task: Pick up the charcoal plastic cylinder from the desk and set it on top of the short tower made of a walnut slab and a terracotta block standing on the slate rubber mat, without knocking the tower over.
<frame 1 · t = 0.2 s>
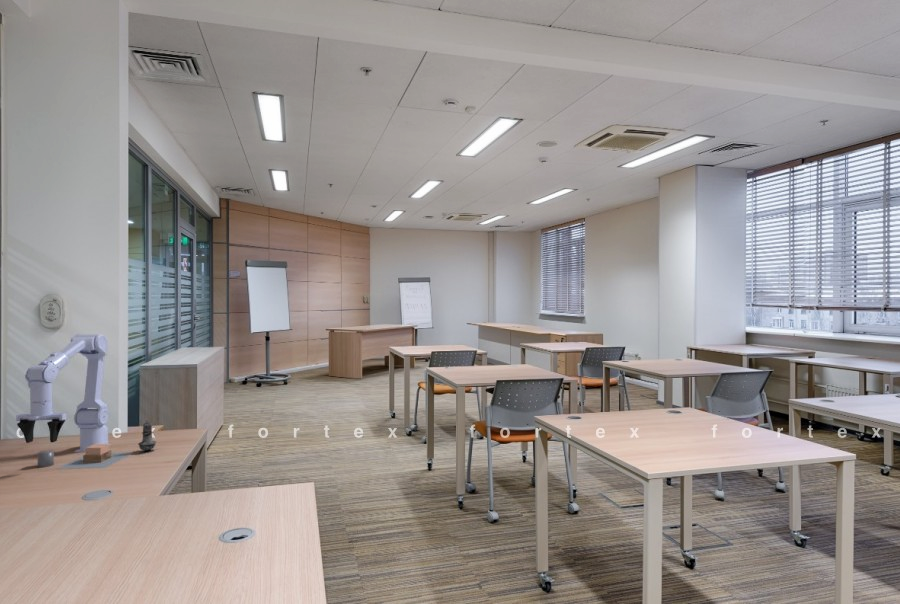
hand: (41, 441, 172), 10 cm above the table, fingers open, 7 cm apart
tower middle: (97, 452, 183), point 3 cm above the table, touching tower base
salt shaker: (147, 452, 194), on the table
tower base: (97, 460, 183), resting on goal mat, touching tower middle
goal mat: (97, 461, 183), on the table
cylinder: (45, 466, 177), on the table
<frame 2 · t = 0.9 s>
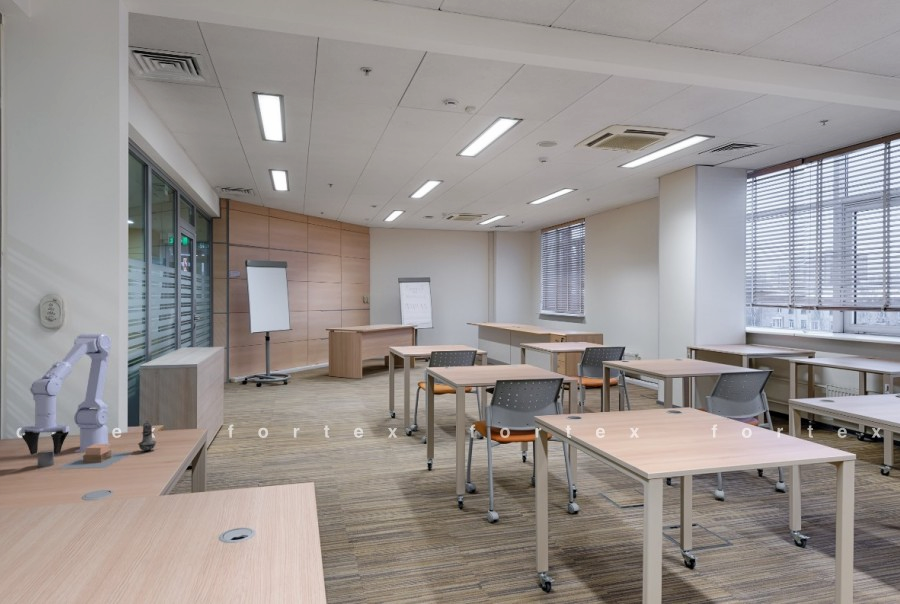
hand: (45, 453, 177), 4 cm above the table, fingers open, 7 cm apart
nothing on the table moved.
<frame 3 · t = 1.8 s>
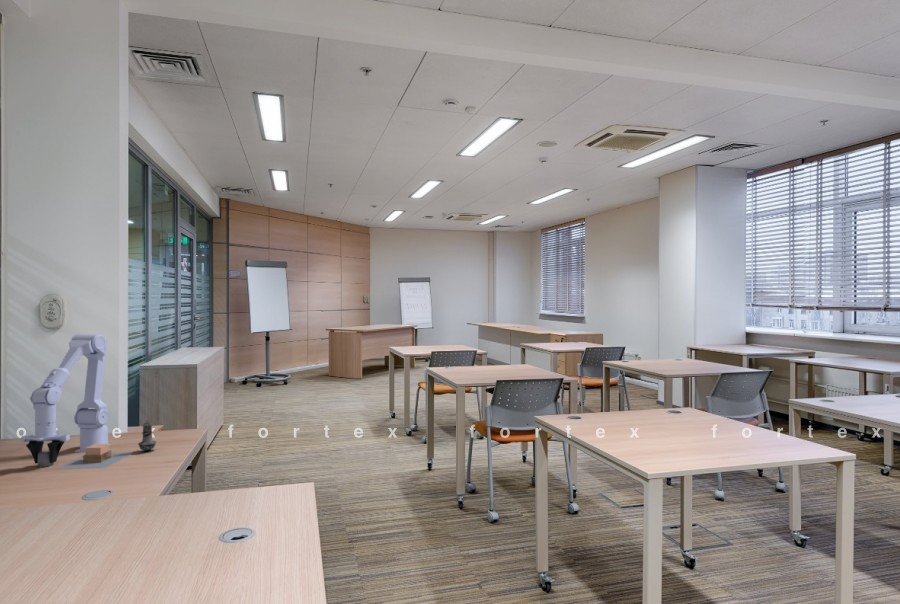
hand: (45, 462, 177), 1 cm above the table, fingers closed on cylinder, 4 cm apart
cylinder: (45, 466, 177), on the table, touching gripper
everything else where it was.
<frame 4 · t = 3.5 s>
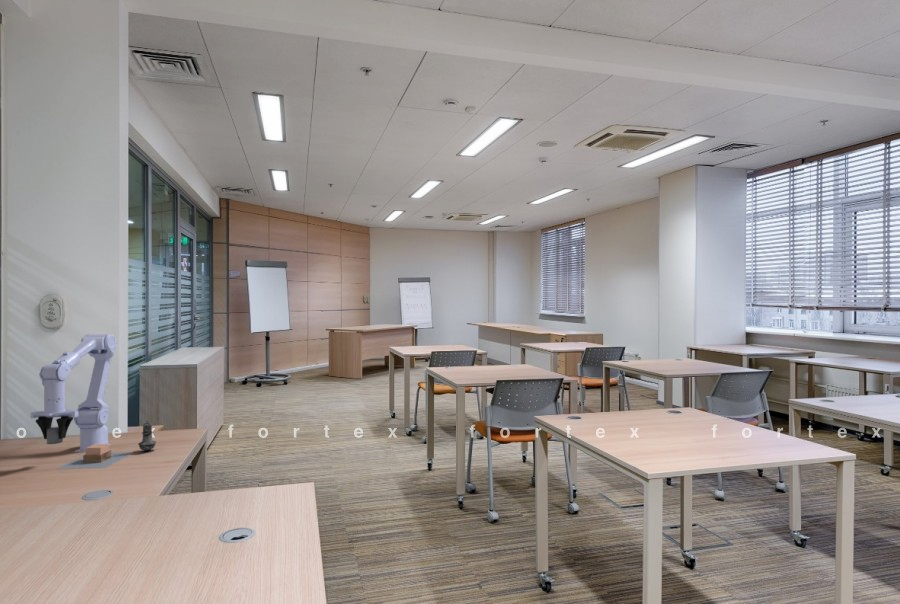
hand: (54, 438, 178), 9 cm above the table, fingers closed on cylinder, 4 cm apart
cylinder: (54, 442, 178), point 8 cm above the table, touching gripper
everything else where it was.
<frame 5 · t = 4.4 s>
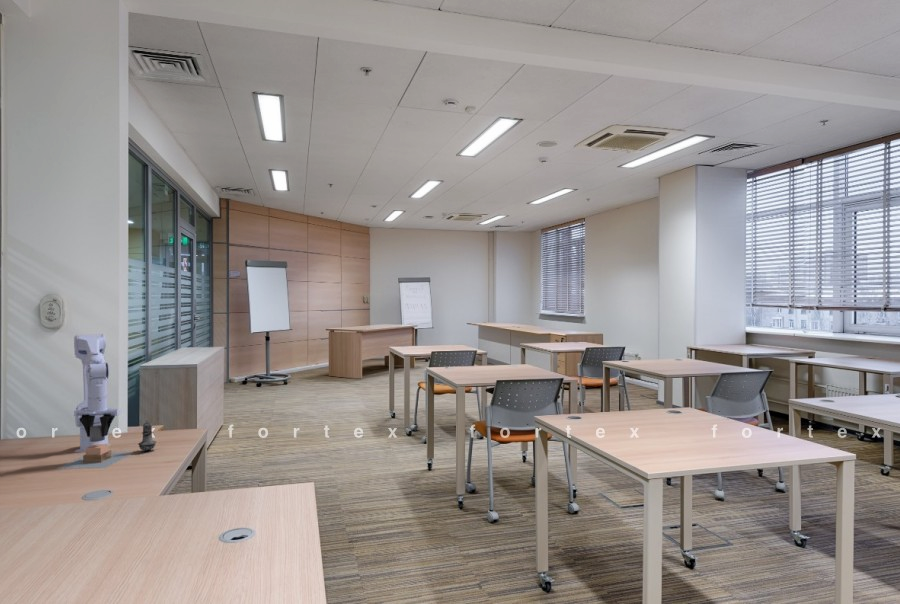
hand: (97, 436, 183), 9 cm above the table, fingers closed on cylinder, 4 cm apart
cylinder: (97, 440, 183), point 7 cm above the table, touching gripper
everything else where it was.
when the fingers open (7 cm above the table, at t = 5.1 s): cylinder stays where it is, resting on tower middle.
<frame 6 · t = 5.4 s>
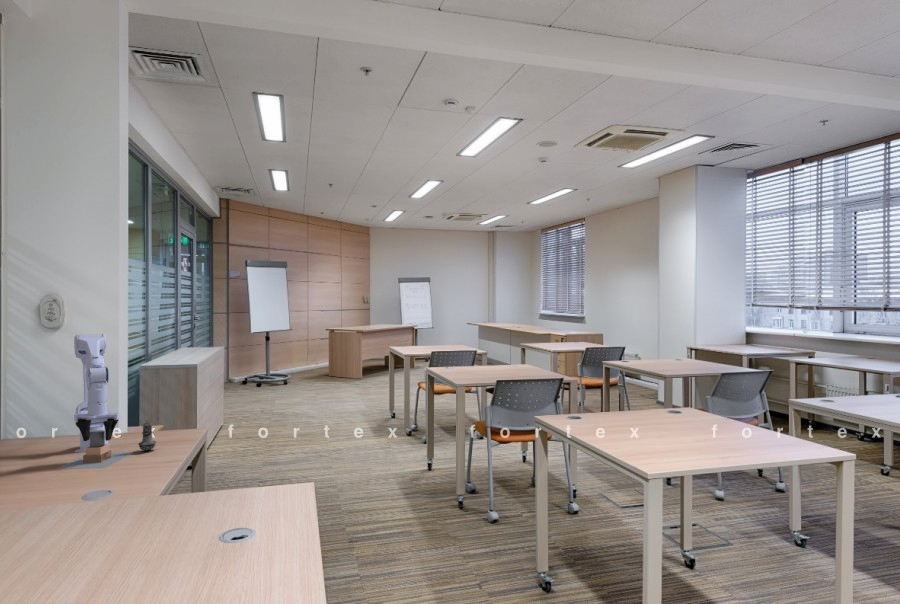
hand: (97, 440, 183), 7 cm above the table, fingers open, 7 cm apart
tower middle: (97, 452, 183), point 3 cm above the table, touching cylinder, tower base
cylinder: (97, 445, 183), point 5 cm above the table, touching tower middle
everything else where it was.
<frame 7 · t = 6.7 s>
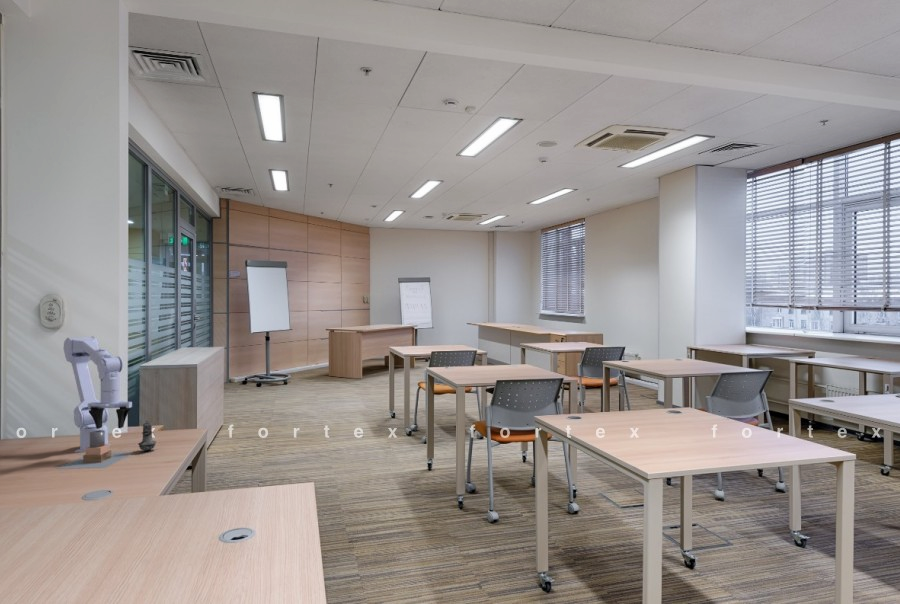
hand: (110, 427, 189), 10 cm above the table, fingers open, 7 cm apart
nothing on the table moved.
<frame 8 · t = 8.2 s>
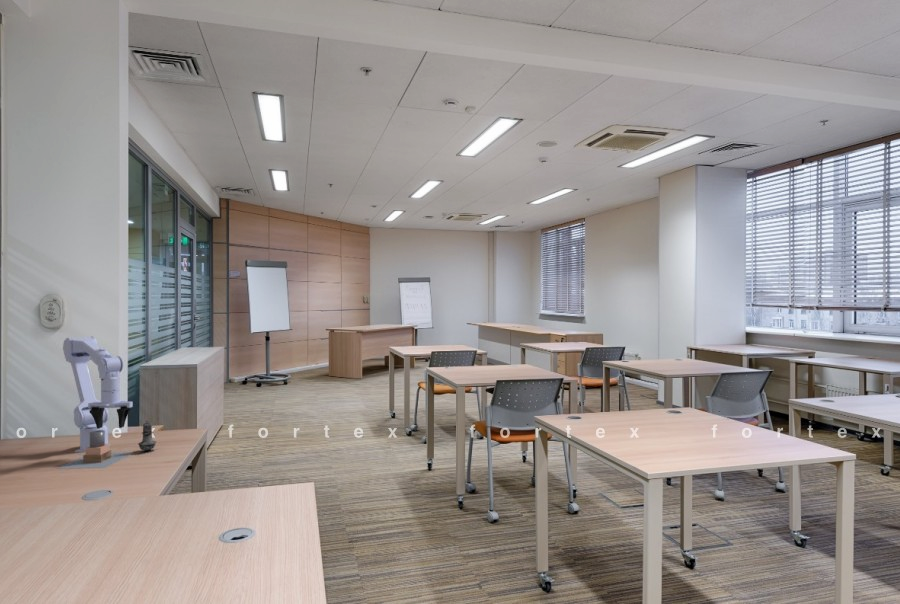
hand: (110, 427, 189), 10 cm above the table, fingers open, 7 cm apart
nothing on the table moved.
at the end: cylinder 0.1 cm off-centre on the tower base, point 5.0 cm above the tower base's base; tower middle 0.0 cm off-centre on the tower base, point 2.5 cm above the tower base's base; cylinder tilted 0° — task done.
